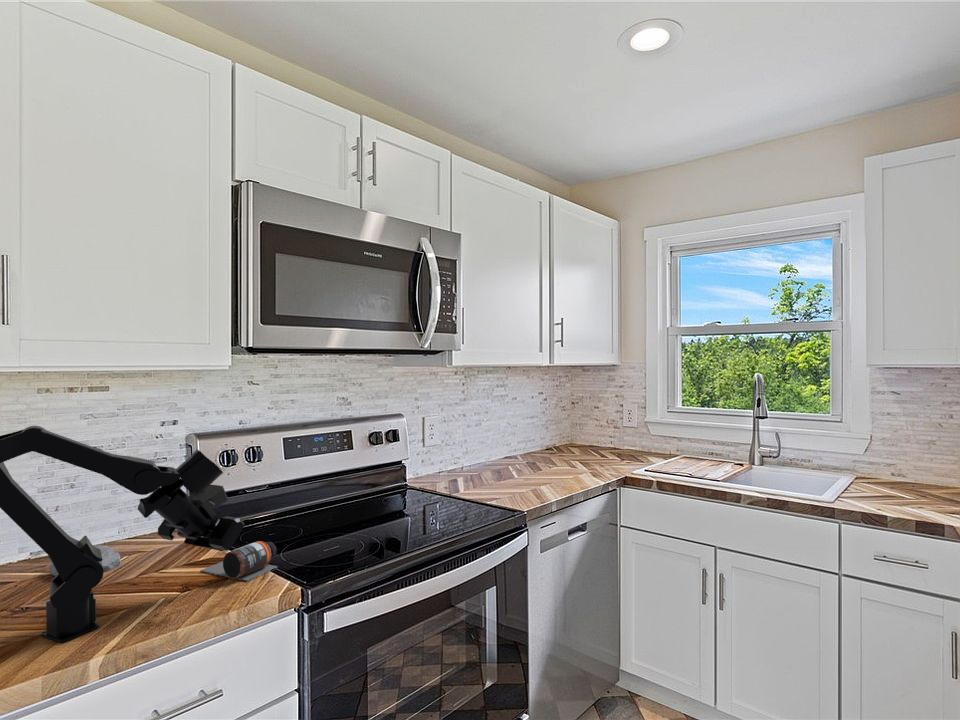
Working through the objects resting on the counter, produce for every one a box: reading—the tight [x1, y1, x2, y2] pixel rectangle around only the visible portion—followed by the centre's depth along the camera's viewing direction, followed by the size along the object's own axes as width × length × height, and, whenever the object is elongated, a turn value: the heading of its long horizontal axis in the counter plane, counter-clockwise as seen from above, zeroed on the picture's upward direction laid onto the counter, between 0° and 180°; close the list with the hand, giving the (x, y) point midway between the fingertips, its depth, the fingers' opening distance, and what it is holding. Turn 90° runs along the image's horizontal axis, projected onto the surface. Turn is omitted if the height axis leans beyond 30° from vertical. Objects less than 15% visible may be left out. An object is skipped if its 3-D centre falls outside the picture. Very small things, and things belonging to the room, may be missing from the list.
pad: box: [200, 560, 278, 582], centre depth 134 cm, size 9×14×1 cm, turn 66°
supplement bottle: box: [222, 540, 277, 580], centre depth 133 cm, size 6×6×11 cm
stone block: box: [48, 544, 122, 577], centre depth 134 cm, size 12×5×10 cm
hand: (223, 548), depth 125 cm, fingers closed
